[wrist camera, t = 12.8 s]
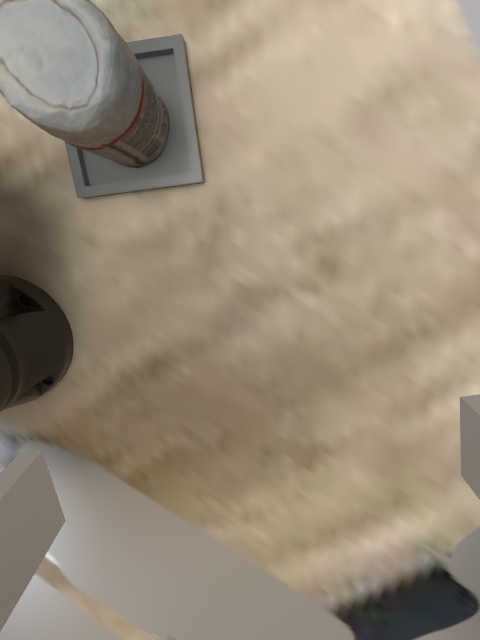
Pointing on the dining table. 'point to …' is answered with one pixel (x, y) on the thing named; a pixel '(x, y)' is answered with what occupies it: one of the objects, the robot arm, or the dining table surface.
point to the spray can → (80, 80)
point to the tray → (182, 143)
